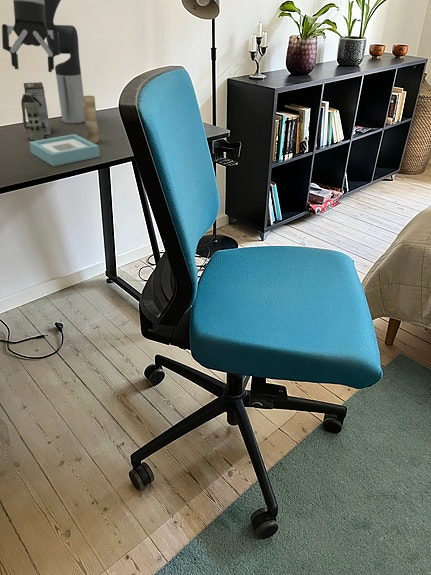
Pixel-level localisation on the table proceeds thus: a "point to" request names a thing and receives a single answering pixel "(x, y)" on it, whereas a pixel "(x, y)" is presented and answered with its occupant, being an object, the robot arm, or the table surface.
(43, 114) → the coffee box
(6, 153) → the table surface
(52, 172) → the table surface
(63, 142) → the socket box
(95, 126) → the peg
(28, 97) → the grenade model
